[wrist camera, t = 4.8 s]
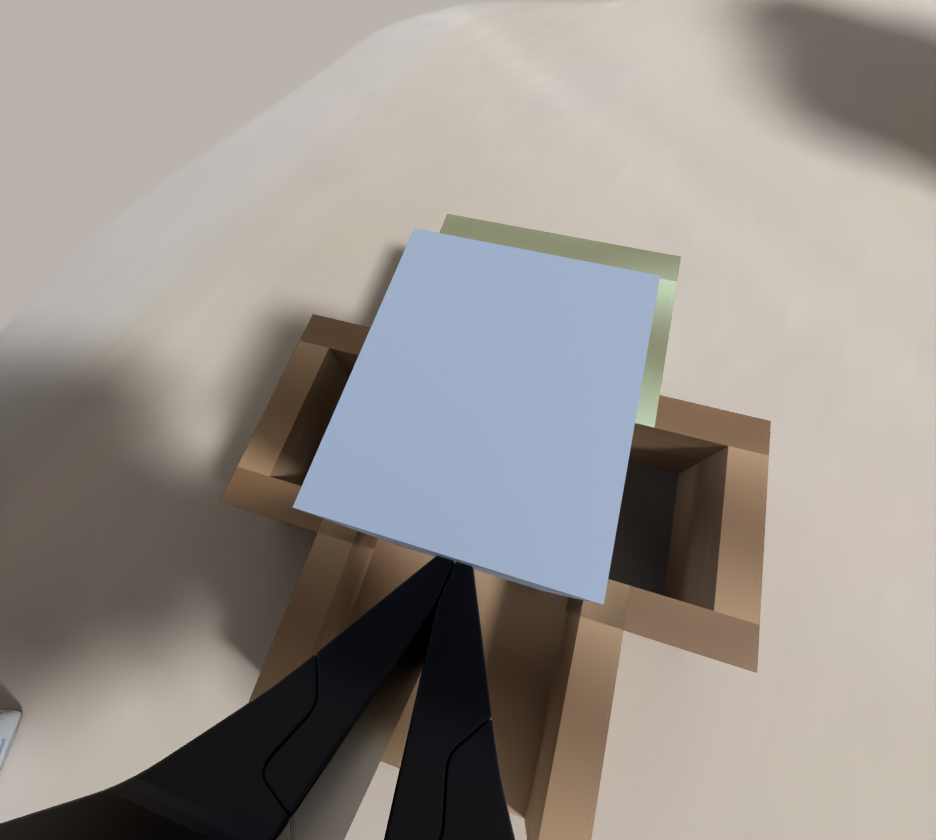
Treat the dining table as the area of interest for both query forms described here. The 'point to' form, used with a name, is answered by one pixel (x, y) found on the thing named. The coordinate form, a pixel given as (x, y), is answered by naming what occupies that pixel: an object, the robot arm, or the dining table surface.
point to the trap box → (524, 608)
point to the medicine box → (7, 732)
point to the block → (492, 413)
